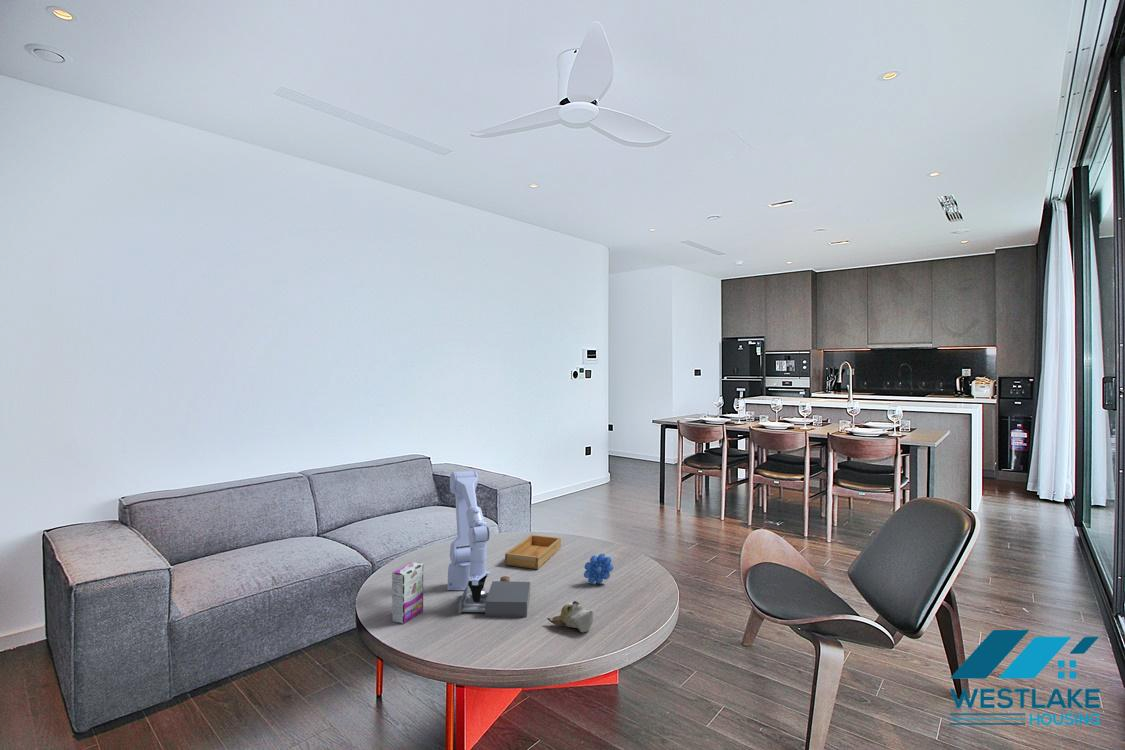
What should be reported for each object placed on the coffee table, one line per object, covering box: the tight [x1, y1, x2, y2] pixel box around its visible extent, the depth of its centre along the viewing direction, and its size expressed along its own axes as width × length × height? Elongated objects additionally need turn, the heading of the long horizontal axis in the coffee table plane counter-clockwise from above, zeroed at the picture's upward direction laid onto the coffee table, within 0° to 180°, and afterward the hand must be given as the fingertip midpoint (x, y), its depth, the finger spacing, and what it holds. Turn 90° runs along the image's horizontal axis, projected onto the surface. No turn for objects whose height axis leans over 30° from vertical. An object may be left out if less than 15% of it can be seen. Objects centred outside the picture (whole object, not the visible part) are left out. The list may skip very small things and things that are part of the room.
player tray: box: [457, 584, 489, 614], centre depth 193 cm, size 13×17×3 cm
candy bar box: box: [391, 561, 424, 625], centre depth 183 cm, size 11×5×16 cm, turn 160°
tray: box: [504, 534, 562, 570], centre depth 245 cm, size 31×15×6 cm, turn 162°
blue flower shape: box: [583, 553, 614, 585], centre depth 215 cm, size 12×7×12 cm, turn 94°
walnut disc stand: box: [499, 575, 511, 582], centre depth 208 cm, size 6×6×4 cm
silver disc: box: [470, 588, 487, 599], centre depth 193 cm, size 5×5×2 cm
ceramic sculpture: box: [546, 600, 594, 633], centre depth 178 cm, size 11×9×15 cm
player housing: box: [484, 580, 531, 618], centre depth 193 cm, size 14×18×5 cm
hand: (477, 597), depth 193 cm, fingers closed on silver disc, 5 cm apart
